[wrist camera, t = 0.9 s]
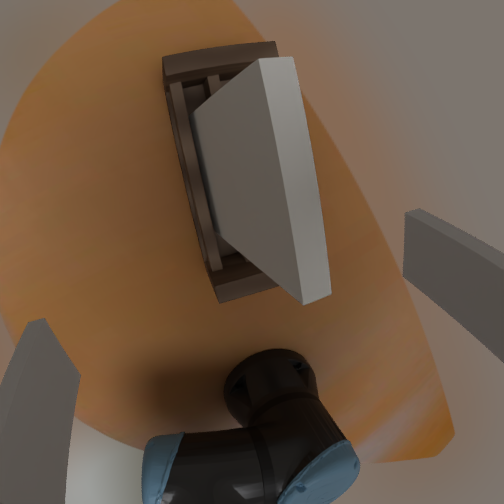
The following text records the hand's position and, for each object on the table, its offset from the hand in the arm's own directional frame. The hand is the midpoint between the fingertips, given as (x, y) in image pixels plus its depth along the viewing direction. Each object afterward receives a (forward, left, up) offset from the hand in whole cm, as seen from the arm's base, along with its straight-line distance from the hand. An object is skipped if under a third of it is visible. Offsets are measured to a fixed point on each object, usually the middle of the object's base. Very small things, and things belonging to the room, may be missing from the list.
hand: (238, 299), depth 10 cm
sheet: (+2, -3, -29) cm, 29 cm away
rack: (+2, -6, -30) cm, 31 cm away
